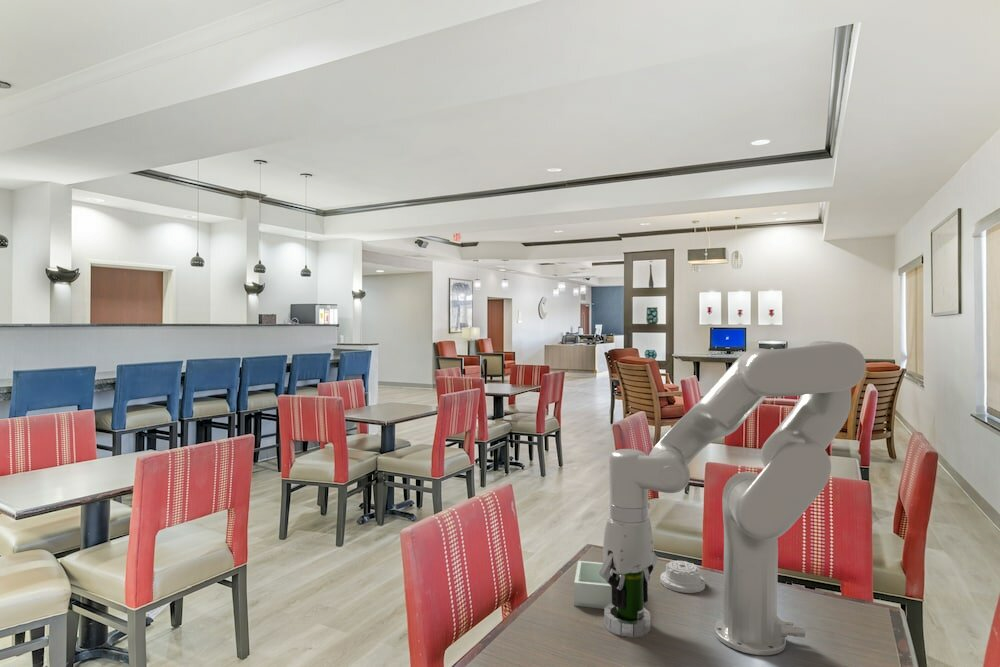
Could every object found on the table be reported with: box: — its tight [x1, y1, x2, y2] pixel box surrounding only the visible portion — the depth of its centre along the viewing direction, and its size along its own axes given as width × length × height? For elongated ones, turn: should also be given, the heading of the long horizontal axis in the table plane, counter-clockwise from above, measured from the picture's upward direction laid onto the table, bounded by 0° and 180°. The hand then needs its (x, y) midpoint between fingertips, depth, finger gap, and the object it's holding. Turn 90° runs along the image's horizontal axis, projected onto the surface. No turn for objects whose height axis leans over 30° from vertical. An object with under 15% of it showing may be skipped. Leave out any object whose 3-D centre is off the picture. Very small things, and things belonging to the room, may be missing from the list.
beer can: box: [616, 565, 645, 621], centre depth 117 cm, size 5×5×12 cm
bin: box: [573, 560, 612, 610], centre depth 130 cm, size 12×12×5 cm
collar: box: [603, 603, 652, 638], centre depth 117 cm, size 9×9×2 cm
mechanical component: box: [659, 560, 706, 594], centre depth 136 cm, size 10×4×10 cm
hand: (629, 602), depth 117 cm, fingers closed on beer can, 5 cm apart
